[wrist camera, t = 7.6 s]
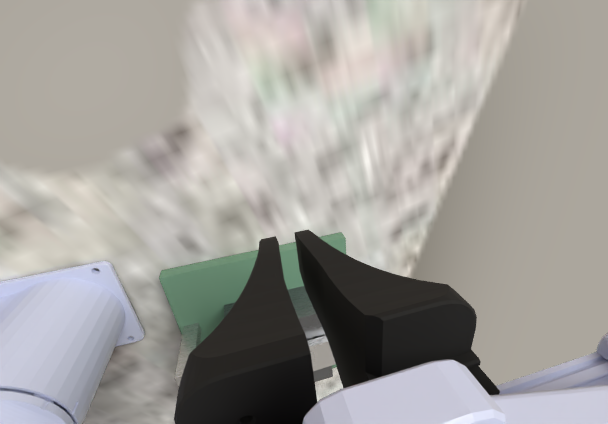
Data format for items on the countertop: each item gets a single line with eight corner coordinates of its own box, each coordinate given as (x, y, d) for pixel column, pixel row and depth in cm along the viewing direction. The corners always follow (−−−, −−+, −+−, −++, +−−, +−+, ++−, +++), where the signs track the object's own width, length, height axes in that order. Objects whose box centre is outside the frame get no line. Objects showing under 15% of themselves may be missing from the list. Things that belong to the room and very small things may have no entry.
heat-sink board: (210, 394, 30) (206, 460, 25) (161, 270, 23) (142, 326, 18) (347, 355, 32) (369, 407, 27) (341, 232, 25) (370, 271, 20)
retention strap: (194, 398, 23) (193, 411, 22) (183, 374, 22) (181, 387, 21) (351, 350, 25) (356, 360, 25) (350, 325, 24) (355, 335, 23)
